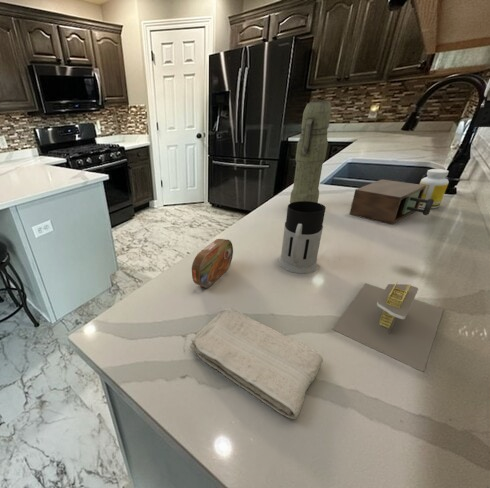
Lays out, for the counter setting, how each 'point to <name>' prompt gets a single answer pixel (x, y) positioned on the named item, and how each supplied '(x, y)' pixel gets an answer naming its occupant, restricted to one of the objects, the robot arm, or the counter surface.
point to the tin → (212, 262)
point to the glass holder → (302, 236)
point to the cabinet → (384, 200)
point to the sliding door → (412, 201)
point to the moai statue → (311, 151)
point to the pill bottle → (434, 186)
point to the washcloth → (259, 360)
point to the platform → (392, 322)
